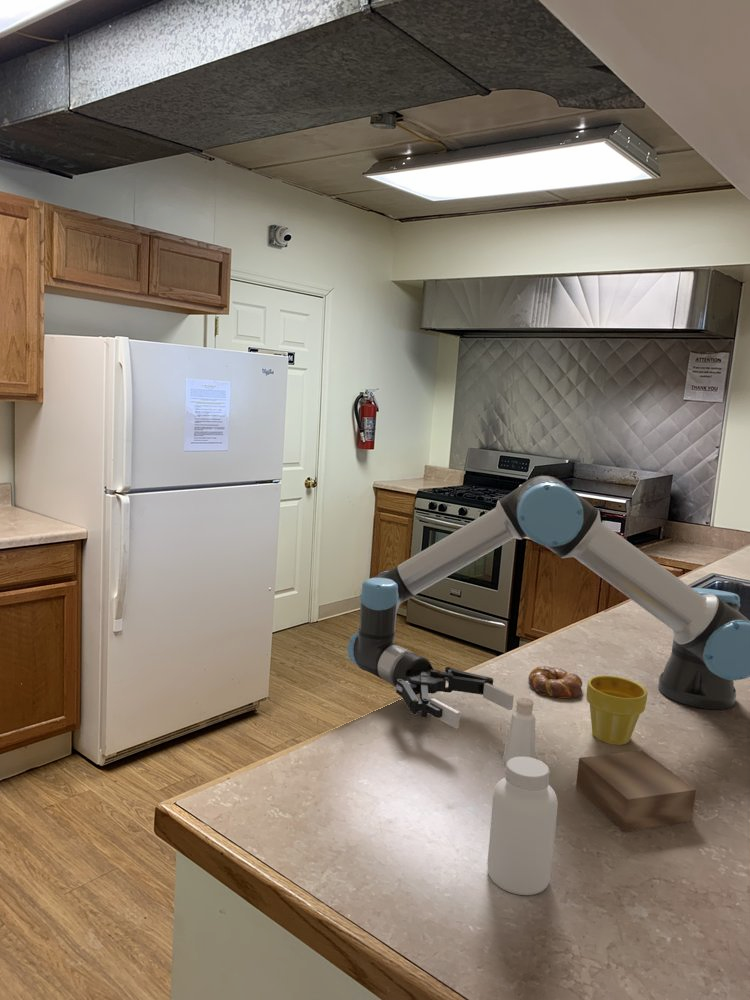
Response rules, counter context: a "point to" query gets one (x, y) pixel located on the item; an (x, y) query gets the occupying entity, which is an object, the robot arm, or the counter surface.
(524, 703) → the pepper shaker
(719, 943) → the counter surface
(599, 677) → the plant pot
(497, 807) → the pill bottle
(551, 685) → the braided bread ring
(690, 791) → the walnut base
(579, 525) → the robot arm
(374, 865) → the counter surface
